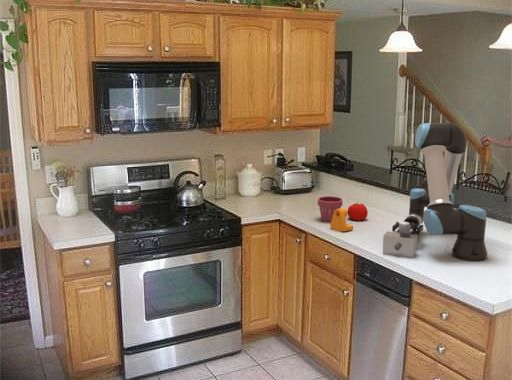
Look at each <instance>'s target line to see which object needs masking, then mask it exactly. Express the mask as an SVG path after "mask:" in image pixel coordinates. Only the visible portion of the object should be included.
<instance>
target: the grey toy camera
mask: <svg viewBox="0 0 512 380" xmlns="http://www.w3.org/2000/svg"><path fill="white" fill-rule="evenodd" d="M382 240H383V241H382V254H384V255H391V256H398V257H403V258H404V257H405V258H412V259H413V258H415V256H416V254H417V247H418V235H417V234H415V235H413V234H411V231H404V230H402V231H401V232H400V233H397V232H393V231H388V230H387V231H386V232H385V233H384V234H383V239H382Z"/></svg>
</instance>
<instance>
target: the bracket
mask: <svg viewBox="0 0 512 380" xmlns="http://www.w3.org/2000/svg"><path fill="white" fill-rule="evenodd" d="M347 211H348V209H346V208H345V207H341V208H340V209H336V210H335V211H334V214H333V217H332V220H331V222H329V223H330V228H332V229H333V230H335V231H337V232H348V231H352V230H354V225H353V224H349V223H347V221H346V220H347V219H346V217H348V213H347Z"/></svg>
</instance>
